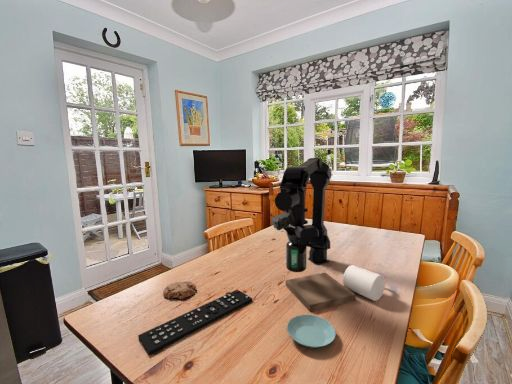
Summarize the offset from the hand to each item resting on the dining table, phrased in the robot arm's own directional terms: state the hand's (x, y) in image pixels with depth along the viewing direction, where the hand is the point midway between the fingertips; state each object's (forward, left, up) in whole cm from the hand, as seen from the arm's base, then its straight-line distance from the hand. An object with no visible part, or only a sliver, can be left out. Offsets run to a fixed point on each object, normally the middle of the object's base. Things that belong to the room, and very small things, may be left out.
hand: (296, 250), depth 87 cm
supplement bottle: (0, 0, -7) cm, 7 cm away
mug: (-19, +12, -13) cm, 26 cm away
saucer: (+9, +24, -13) cm, 28 cm away
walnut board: (-4, +7, -13) cm, 15 cm away
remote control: (+33, +6, -14) cm, 36 cm away
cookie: (+39, -10, -14) cm, 42 cm away
